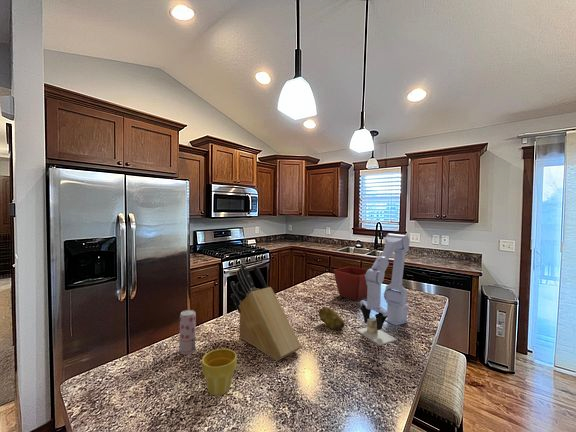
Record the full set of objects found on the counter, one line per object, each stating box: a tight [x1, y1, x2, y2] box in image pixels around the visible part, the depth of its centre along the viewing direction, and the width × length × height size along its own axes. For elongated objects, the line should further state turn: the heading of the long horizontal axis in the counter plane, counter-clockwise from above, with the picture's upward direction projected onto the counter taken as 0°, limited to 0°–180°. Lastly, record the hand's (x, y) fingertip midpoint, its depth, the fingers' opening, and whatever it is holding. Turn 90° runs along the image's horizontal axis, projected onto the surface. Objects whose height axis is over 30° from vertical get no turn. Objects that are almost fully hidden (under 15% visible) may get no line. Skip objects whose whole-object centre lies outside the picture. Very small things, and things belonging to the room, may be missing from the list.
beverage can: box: [179, 309, 197, 356], centre depth 100 cm, size 6×6×15 cm
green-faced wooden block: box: [366, 317, 378, 334], centre depth 117 cm, size 4×2×6 cm, turn 117°
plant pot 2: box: [333, 266, 368, 302], centre depth 166 cm, size 19×19×17 cm
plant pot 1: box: [201, 348, 238, 397], centre depth 80 cm, size 10×10×10 cm
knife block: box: [230, 264, 302, 362], centre depth 108 cm, size 11×35×31 cm, turn 45°
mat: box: [356, 326, 398, 346], centre depth 116 cm, size 10×14×1 cm
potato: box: [318, 306, 345, 330], centre depth 124 cm, size 8×13×8 cm, turn 28°
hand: (372, 325), depth 117 cm, fingers open, 7 cm apart
